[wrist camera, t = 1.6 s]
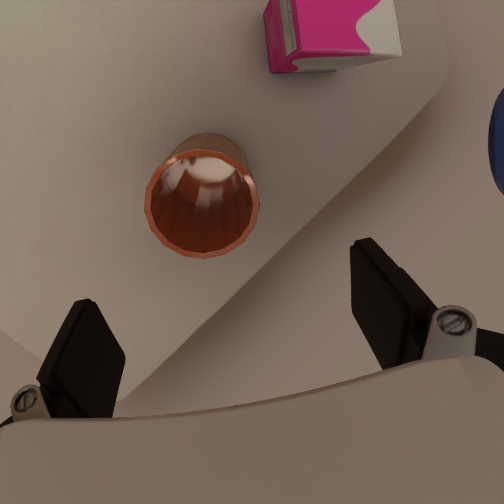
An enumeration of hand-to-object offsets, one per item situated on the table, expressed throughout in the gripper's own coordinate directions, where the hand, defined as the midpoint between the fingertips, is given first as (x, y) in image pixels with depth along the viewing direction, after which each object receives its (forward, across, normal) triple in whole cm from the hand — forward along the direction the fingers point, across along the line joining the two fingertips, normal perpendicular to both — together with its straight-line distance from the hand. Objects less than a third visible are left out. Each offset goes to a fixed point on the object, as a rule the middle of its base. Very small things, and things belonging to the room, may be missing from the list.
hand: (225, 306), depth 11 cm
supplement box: (+18, -9, -11) cm, 23 cm away
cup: (+18, +1, -1) cm, 18 cm away
